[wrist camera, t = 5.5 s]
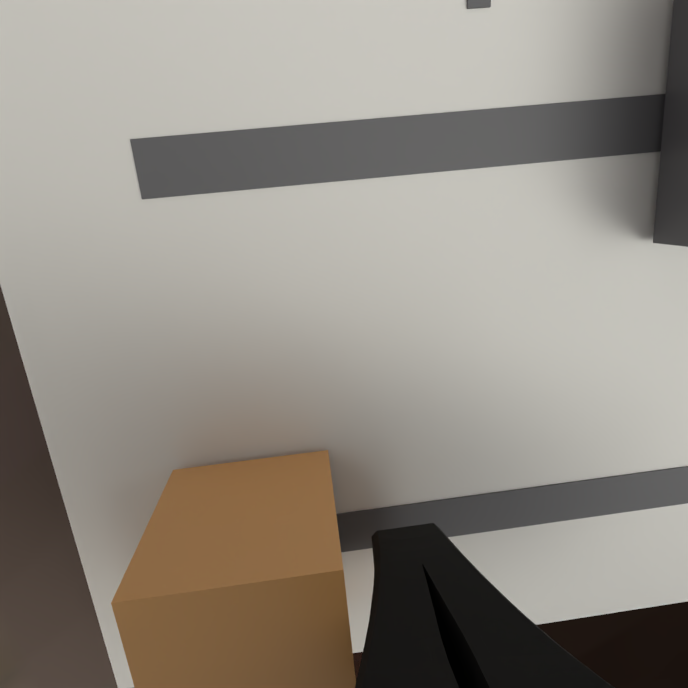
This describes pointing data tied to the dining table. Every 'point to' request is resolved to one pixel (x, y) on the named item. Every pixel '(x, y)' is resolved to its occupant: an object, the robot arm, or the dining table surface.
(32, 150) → the fader panel
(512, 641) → the robot arm
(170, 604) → the block
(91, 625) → the dining table surface
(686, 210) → the black fader
